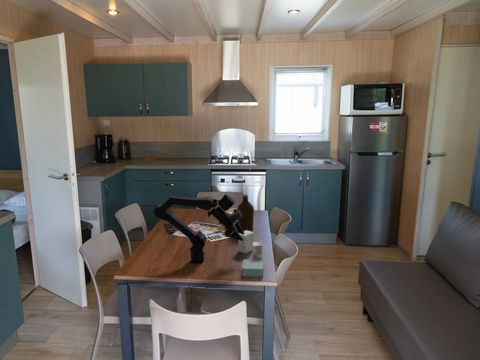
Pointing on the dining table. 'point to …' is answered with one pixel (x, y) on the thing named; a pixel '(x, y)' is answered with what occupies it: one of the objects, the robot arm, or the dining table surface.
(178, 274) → the dining table surface
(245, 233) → the small box
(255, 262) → the base block
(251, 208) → the olive oil
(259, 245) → the cream block
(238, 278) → the dining table surface
